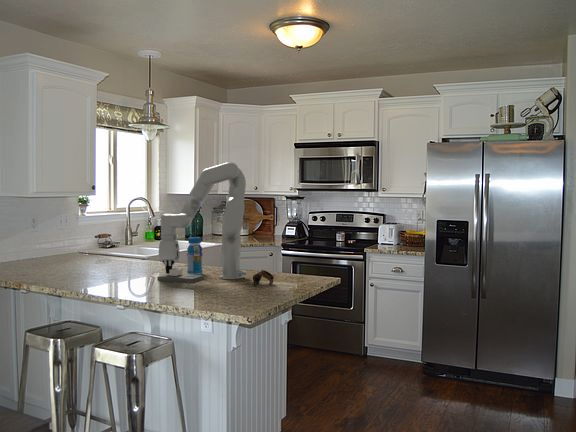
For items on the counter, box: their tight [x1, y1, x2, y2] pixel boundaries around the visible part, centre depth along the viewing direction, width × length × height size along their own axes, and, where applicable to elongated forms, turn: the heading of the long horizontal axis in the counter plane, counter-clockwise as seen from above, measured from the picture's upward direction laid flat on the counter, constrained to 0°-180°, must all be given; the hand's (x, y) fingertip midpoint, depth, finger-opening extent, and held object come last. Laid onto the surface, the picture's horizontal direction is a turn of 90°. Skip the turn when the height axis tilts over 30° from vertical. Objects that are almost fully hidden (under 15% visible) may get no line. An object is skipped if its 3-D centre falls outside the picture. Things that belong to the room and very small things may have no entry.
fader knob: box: [169, 266, 183, 276], centre depth 267 cm, size 4×6×4 cm, turn 162°
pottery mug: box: [252, 269, 275, 287], centre depth 252 cm, size 12×10×8 cm
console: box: [157, 273, 205, 284], centre depth 266 cm, size 20×12×2 cm, turn 72°
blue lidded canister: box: [186, 236, 204, 275], centre depth 285 cm, size 8×8×20 cm
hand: (169, 273), depth 268 cm, fingers closed
